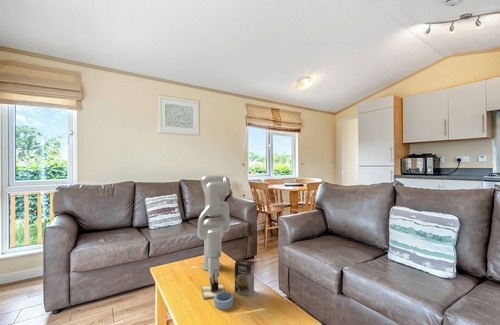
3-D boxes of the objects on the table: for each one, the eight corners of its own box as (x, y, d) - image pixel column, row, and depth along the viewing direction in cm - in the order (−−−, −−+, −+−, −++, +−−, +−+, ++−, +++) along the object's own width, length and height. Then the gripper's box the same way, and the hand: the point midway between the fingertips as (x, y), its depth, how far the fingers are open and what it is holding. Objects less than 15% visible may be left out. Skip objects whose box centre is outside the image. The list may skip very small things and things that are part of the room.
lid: (202, 287, 128) (202, 275, 128) (222, 284, 131) (222, 272, 131) (204, 299, 117) (204, 285, 117) (226, 295, 121) (226, 282, 121)
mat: (201, 288, 128) (201, 287, 128) (223, 285, 132) (223, 284, 132) (203, 301, 117) (203, 299, 117) (227, 297, 120) (227, 295, 120)
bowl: (213, 301, 117) (213, 293, 117) (230, 298, 119) (230, 290, 119) (215, 312, 108) (215, 303, 108) (235, 308, 111) (235, 300, 111)
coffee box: (234, 293, 123) (234, 263, 123) (238, 287, 130) (238, 258, 130) (250, 297, 120) (250, 265, 120) (254, 290, 126) (254, 260, 126)
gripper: (205, 248, 132) (205, 279, 132) (208, 260, 115) (208, 296, 115) (218, 246, 134) (218, 278, 134) (224, 258, 117) (224, 294, 117)
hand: (213, 286), depth 124 cm, fingers open, 6 cm apart
